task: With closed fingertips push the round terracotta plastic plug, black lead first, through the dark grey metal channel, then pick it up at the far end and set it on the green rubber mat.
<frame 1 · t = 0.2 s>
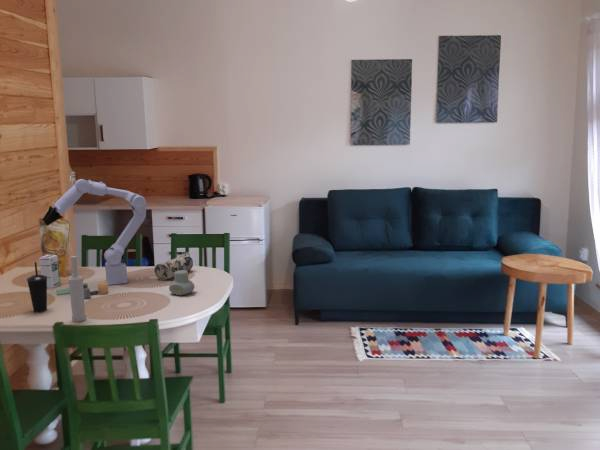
hand: (44, 222, 246), 31 cm above the table, tool tilted 50°, fingers open, 7 cm apart
channel: (81, 296, 245), on the table
pancake mix bag: (56, 274, 281), on the table
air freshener: (182, 294, 247), on the table
syrup box: (51, 286, 260), on the table
mat: (65, 292, 251), on the table
plug: (103, 293, 249), on the table
drinking cup: (40, 310, 227), on the table
bottle: (79, 320, 216), on the table
pencil case: (174, 276, 276), on the table
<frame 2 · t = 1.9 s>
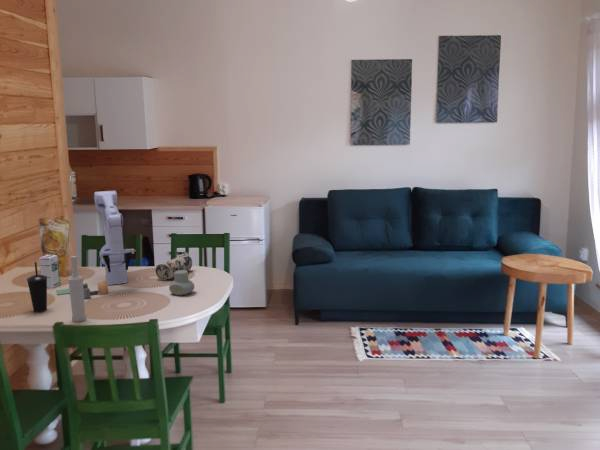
hand: (118, 270, 250), 9 cm above the table, tool pointing down, fingers open, 7 cm apart
nothing on the table moved.
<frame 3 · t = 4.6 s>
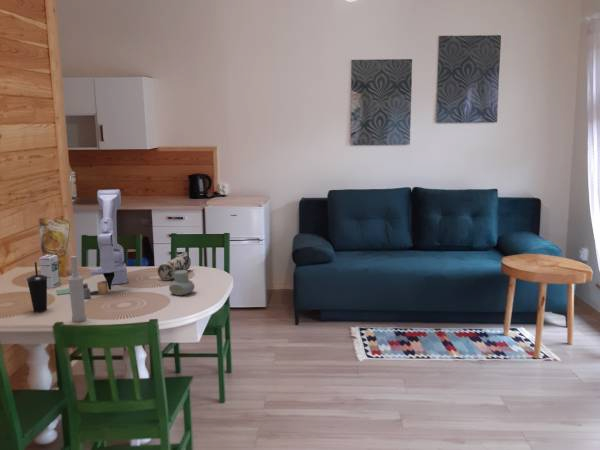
hand: (109, 289, 249), 1 cm above the table, tool pointing down, fingers closed
plug: (103, 293, 249), on the table, touching gripper
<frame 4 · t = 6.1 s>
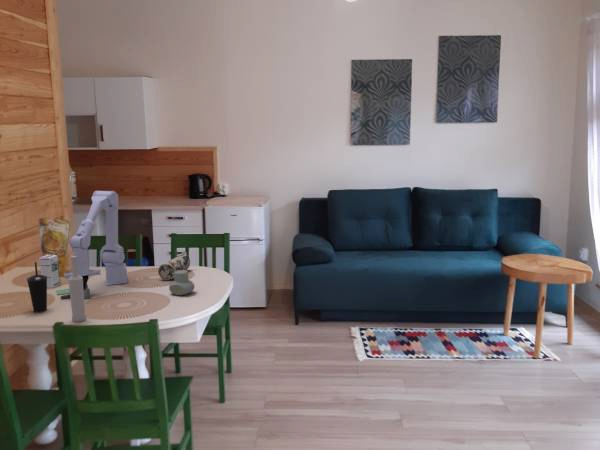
hand: (84, 292, 245), 2 cm above the table, tool pointing down, fingers closed
plug: (78, 296, 244), on the table, touching gripper
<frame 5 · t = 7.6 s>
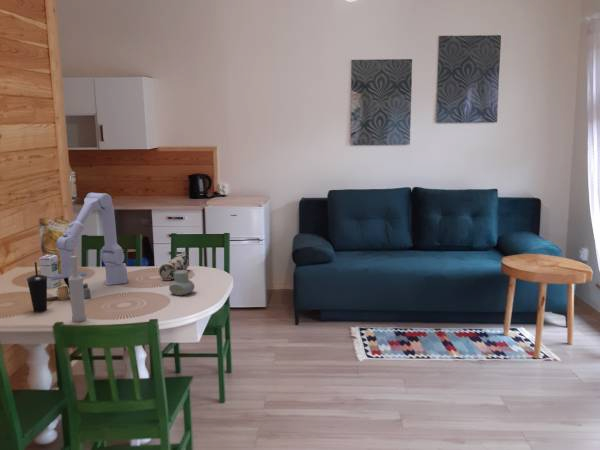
hand: (70, 294, 242), 1 cm above the table, tool pointing down, fingers closed
plug: (63, 298, 241), on the table, touching gripper
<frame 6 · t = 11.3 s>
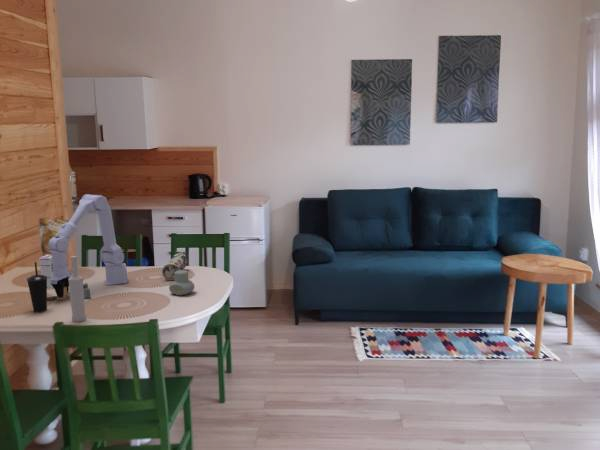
hand: (62, 295, 241), 1 cm above the table, tool pointing down, fingers closed on plug, 4 cm apart
plug: (62, 298, 241), on the table, touching gripper
when the fingers open (3 cm above the table, at t = 14.3 s): plug stays where it is, resting on mat.
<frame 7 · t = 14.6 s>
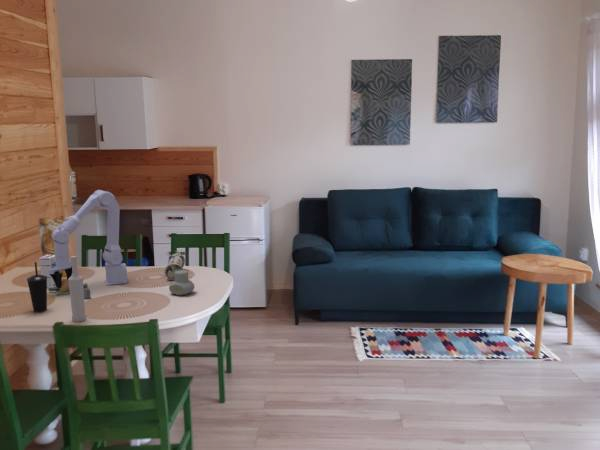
hand: (64, 285, 250), 3 cm above the table, tool pointing down, fingers open, 6 cm apart
plug: (64, 291, 251), resting on mat
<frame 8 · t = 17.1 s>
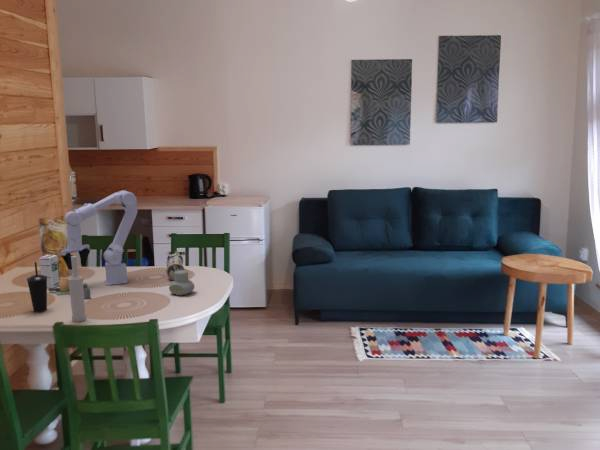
hand: (77, 267, 254), 10 cm above the table, tool pointing down, fingers open, 7 cm apart
at the end: plug inside the target area on the mat (0.2 cm from its centre), point 0.4 cm above the mat's base; plug tilted 0°; the gripper is holding nothing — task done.
